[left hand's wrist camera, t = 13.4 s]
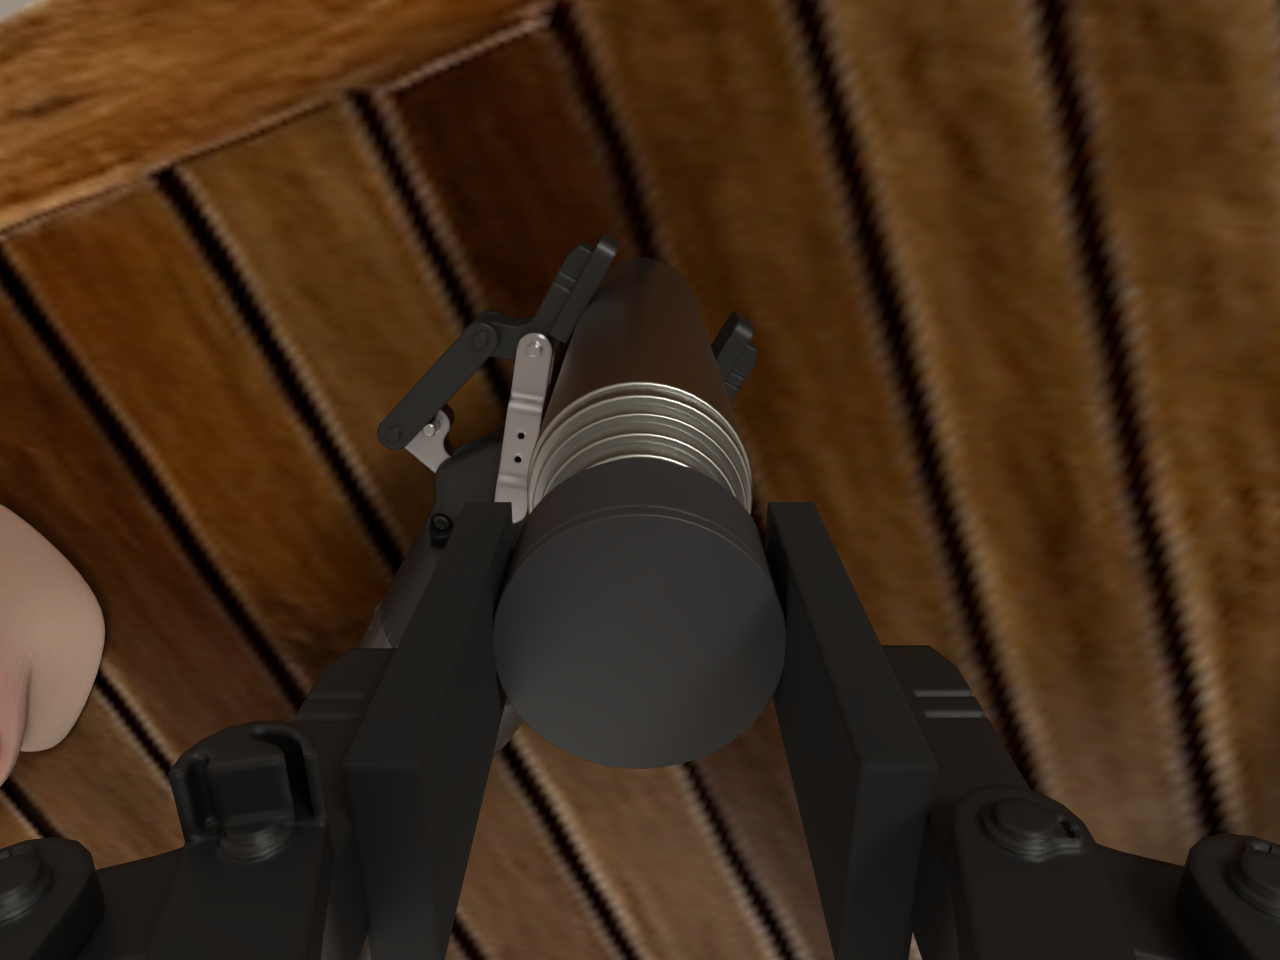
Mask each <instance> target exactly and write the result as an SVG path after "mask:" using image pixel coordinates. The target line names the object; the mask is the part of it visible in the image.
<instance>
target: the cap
mask: <svg viewBox="0 0 1280 960" xmlns="http://www.w3.org/2000/svg"><path fill="white" fill-rule="evenodd" d="M786 629H787V625H786V618H785V613H784V610H783V606H782V603H781V600H780V596H779V593H778V590H777V587H776V583H775V580H774V577H773V573H772V570H771V567H770V564H769V560H768V557H767V554H766V550H765V547H764V544H763V541H762V538H761V535H760V533H759V530H758V528H757V527H756V525H755V523H754V521H753V519H752V517H751V516H750V514H749V513H748V512H747V510H746V509H745V507H744V506H743V505H742V504H741V503H740V502H739V500H738V499H737V498H736V497H735V496H734V495H733V494H732V493H731V492H729V491H728V490H727V489H726V488H725V487H723V486H722V485H721V484H720V483H718V482H716V481H715V480H713V479H712V478H710V477H708V476H707V475H705V474H703V473H701V472H698V471H696V470H694V469H692V468H689V467H686V466H683V465H680V464H676V463H673V462H668V461H662V460H656V459H626V460H617V461H612V462H607V463H602V464H599V465H596V466H594V467H591V468H588V469H585V470H583V471H581V472H579V473H577V474H575V475H573V476H571V477H569V478H568V479H566V480H565V481H563V482H562V483H560V484H559V485H557V486H556V487H555V488H554V489H552V490H551V491H550V492H549V493H548V494H547V495H546V496H544V497H543V499H542V500H541V501H540V502H539V503H538V504H537V505H536V507H535V508H534V509H533V510H532V512H531V513H530V515H529V517H528V518H527V520H526V521H525V523H524V525H523V527H522V529H521V532H520V534H519V536H518V539H517V542H516V546H515V549H514V552H513V555H512V559H511V562H510V565H509V569H508V572H507V575H506V578H505V582H504V585H503V588H502V592H501V595H500V598H499V601H498V605H497V608H496V612H495V615H494V619H493V638H494V653H495V665H496V673H497V676H498V679H499V682H500V685H501V687H502V689H503V691H504V693H505V695H506V697H507V699H508V700H509V702H510V703H511V705H512V706H513V707H514V709H515V710H516V712H517V713H518V714H519V715H520V717H521V718H522V719H523V720H524V721H525V722H526V723H527V724H528V725H529V726H530V727H531V728H532V729H533V730H534V731H536V732H537V733H538V734H539V735H540V736H541V737H543V738H544V739H546V740H547V741H549V742H550V743H552V744H553V745H555V746H556V747H558V748H560V749H562V750H564V751H566V752H568V753H570V754H572V755H574V756H577V757H580V758H582V759H585V760H588V761H591V762H595V763H599V764H603V765H607V766H614V767H621V768H637V769H646V768H660V767H666V766H672V765H677V764H681V763H685V762H688V761H691V760H695V759H698V758H700V757H702V756H705V755H707V754H710V753H712V752H714V751H716V750H717V749H719V748H721V747H723V746H725V745H726V744H728V743H729V742H731V741H732V740H734V739H735V738H736V737H738V736H739V735H740V734H742V733H743V732H744V731H745V730H746V729H747V728H748V727H749V726H750V725H752V724H753V723H754V722H755V720H756V719H757V718H758V717H759V716H760V714H761V713H762V712H763V711H764V710H765V708H766V707H767V705H768V704H769V702H770V700H771V699H772V697H773V696H774V694H775V692H776V689H777V687H778V685H779V683H780V680H781V678H782V674H783V670H784V658H785V645H786Z"/></svg>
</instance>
